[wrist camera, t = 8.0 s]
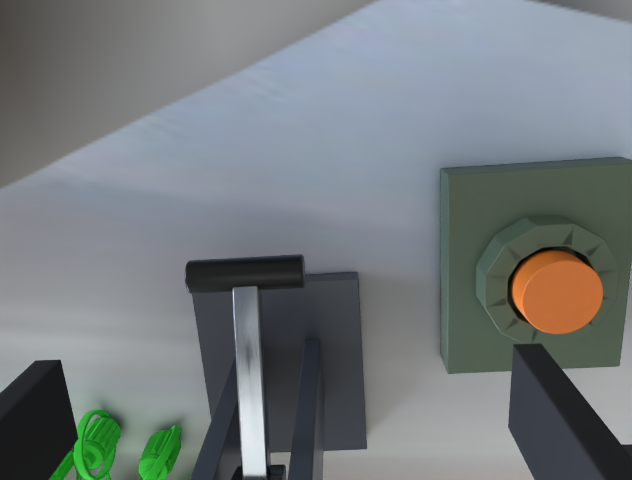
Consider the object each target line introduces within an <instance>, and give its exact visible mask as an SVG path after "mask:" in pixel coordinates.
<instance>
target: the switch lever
mask: <svg viewBox="0 0 632 480" xmlns="http://www.w3.org/2000/svg"><path fill="white" fill-rule="evenodd" d="M185 283H186V287H187V290H188V292H189V293H191V294H198V293H217V292H233V310H234V330H235V350H236V370H237V390H238V410H239V430H240V449H241V466H238V467H237V468H236V470H235V472H234V474H233V476H232V478H231V480H286V466H285V465H271V462H270V443H269V424H268V404H267V385H266V366H265V347H264V328H263V309H262V290H274V289H293V288H304V287H305V262H304V257H303V255H301V254H300V255H282V256H264V257H247V258H229V259H211V260H194V261H189V262H188V263H187V265H186V269H185Z"/></svg>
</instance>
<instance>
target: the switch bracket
mask: <svg viewBox="0 0 632 480" xmlns="http://www.w3.org/2000/svg"><path fill="white" fill-rule="evenodd" d="M192 296H193V303H194V310H195V316H196V323H197V329H198V336H199V342H200V349H201V355H202V362H203V368H204V375H205V382H206V388H207V395H208V401H209V408H210V414H211V423H210V426H209V429H208V432H207V434H206V437H205V440H204V442H203V445H202V448H201V451H200V453H199V456H198V459H197V462H196V464H195V467H194V470H193V473H192V475H191V478H190V480H231V478H232V476H233V474H234V472H235V470H236V468H237V467H238V466H241V449H240V430H239V410H238V390H237V370H236V350H235V330H234V310H233V292H217V293H198V294H192ZM262 309H263V328H264V347H265V366H266V385H267V404H268V424H269V443H270V453H275V452H291V457H290V466H289V474H288V480H323V451H331V450H359V449H367V440H366V420H365V401H364V381H363V361H362V341H361V321H360V302H359V282H358V273H357V272H347V273H329V274H310V275H305V287H304V288H293V289H274V290H262Z"/></svg>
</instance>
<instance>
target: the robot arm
mask: <svg viewBox="0 0 632 480" xmlns="http://www.w3.org/2000/svg"><path fill="white" fill-rule="evenodd" d="M508 428H509V430H510V432H511V434H512V435H513V437H514V439H515V441H516V443H517V445H518V447H519V449H520V451H521V453H522V455H523V457H524V459H525V461H526V463H527V465H528V467H529V469H530V471H531V473H532V475H533V477H534V479H535V480H632V445H621V444H620V442H619V441H618V440H617V439H616V437H615V436H614V435H613V434H612V432H611V431H610V430H609V429H608V427H607V426H606V425H605V424H604V422H603V421H602V420H601V418H600V417H599V416H598V415H597V413H596V412H595V411H594V410H593V408H592V407H591V406H590V405H589V403H588V402H587V401H586V399H585V398H584V397H583V396H582V394H581V393H580V392H579V391H578V389H577V388H576V387H575V386H574V384H573V383H572V382H571V381H570V379H569V378H568V377H567V375H566V374H565V373H564V372H563V370H562V369H561V368H560V367H559V365H558V364H557V363H556V362H555V360H554V359H553V358H552V357H551V355H550V354H549V353H548V351H547V350H546V349H545V348H544V346H543V345H542V344H541V343H535V344H513V358H512V375H511V391H510V408H509V424H508ZM78 439H79V438H78V434H77V429H76V425H75V421H74V416H73V412H72V408H71V403H70V399H69V395H68V390H67V386H66V381H65V377H64V373H63V368H62V364H61V360H41V361H34V362H33V363H32V364H31V365H30V366H29V367H28V368H27V369H26V370H25V371H24V372H23V373H22V374H21V375H19V376H18V377H17V378H16V379H15V380H14V381H13V382H12V383H11V384H10V385H9V386H8V387H7V388H5V389H4V390H3V391H2V392H1V393H0V480H49V479H50V478H51V476H52V475H53V473H54V472H55V471H56V469H57V468H58V467H59V465H60V464H61V462H62V461H63V460H64V458H65V457H66V455H67V454H68V453H69V451H70V450H71V448H72V447H73V446H74V444H75V443H76V441H77V440H78Z"/></svg>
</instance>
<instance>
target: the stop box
mask: <svg viewBox="0 0 632 480" xmlns="http://www.w3.org/2000/svg"><path fill="white" fill-rule="evenodd" d="M547 250H560V251H565V252H568V253H570V254H572V255H574V256H575V257H577V258H578V259H580V260H581V261H582V262H584V263H585V264H586V265H588V266H589V267H591V268H592V269H593V270H594V271H595V272H596V273H597V275H598V276H599V278H600V280H601V282H602V286H603V300H602V303H601V306H600V308H599V310H598V312H597V314H596V315H595V316H594V318H593V319H592V320H591V321H590V322H589V323H587V324H586V325H585V326H583V327H581V328H580V329H577V330H575V331H572V332H569V333H564V334H552V333H547V332H543V331H541V330H539V329H537V328H535V327H534V326H533V325H531V324H530V323H529V322H528V320H527V319H526V318H525V317H524V315H523V314H522V313H521V312H520V310H519V309H518V308H517V307H516V305H515V303H514V301H513V299H512V295H511V283H512V279H513V276H514V274H515V272H516V270H517V269H518V267H519V266H520V265H521V264H522V263H523V262H524V261H525V260H526V259H528V258H529V257H531V256H532V255H534V254H536V253H539V252H542V251H547ZM631 261H632V160H630V159H627V158H623V157H610V158H595V159H579V160H564V161H548V162H533V163H517V164H502V165H486V166H471V167H455V168H441V169H440V265H441V357H442V360H443V363H444V365H445V368H446V370H447V373H448V374H453V373H476V372H499V371H512V358H513V344H535V343H541V344H542V345H543V346H544V348H545V349H546V350H547V351H548V353H549V354H550V355H551V357H552V358H553V359H554V360H555V362H556V363H557V364H558V365H559V367H560V368H561V369H568V368H591V367H615V366H620V358H621V349H622V340H623V331H624V323H625V314H626V305H627V296H628V288H629V279H630V270H631Z"/></svg>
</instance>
